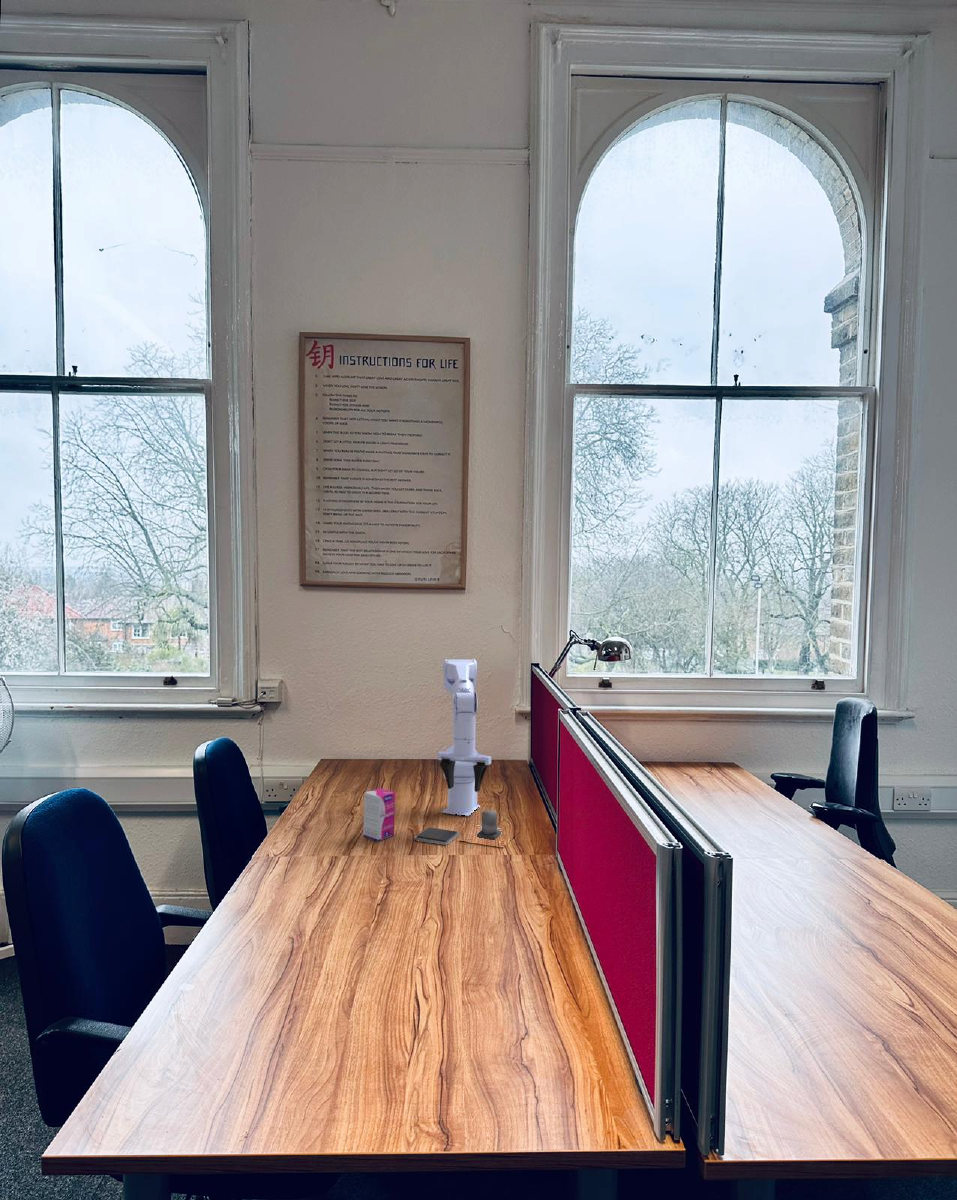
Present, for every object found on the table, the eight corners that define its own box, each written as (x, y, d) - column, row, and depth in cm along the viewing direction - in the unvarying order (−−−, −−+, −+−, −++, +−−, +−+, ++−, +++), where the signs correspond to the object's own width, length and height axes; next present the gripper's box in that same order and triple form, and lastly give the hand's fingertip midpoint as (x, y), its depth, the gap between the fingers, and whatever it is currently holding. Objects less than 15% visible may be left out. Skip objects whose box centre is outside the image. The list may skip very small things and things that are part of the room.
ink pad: (427, 830, 196) (427, 826, 196) (459, 835, 193) (459, 831, 193) (414, 840, 189) (414, 836, 188) (446, 845, 185) (446, 841, 185)
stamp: (483, 831, 195) (483, 808, 194) (501, 834, 193) (501, 811, 193) (476, 838, 190) (476, 814, 190) (495, 840, 188) (495, 817, 188)
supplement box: (379, 842, 187) (379, 796, 187) (362, 836, 191) (362, 792, 190) (395, 835, 192) (395, 791, 191) (378, 830, 195) (379, 787, 195)
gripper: (433, 738, 196) (432, 790, 196) (484, 742, 191) (483, 796, 191) (444, 733, 203) (443, 783, 203) (494, 738, 198) (493, 789, 198)
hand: (463, 789), depth 197 cm, fingers open, 7 cm apart
